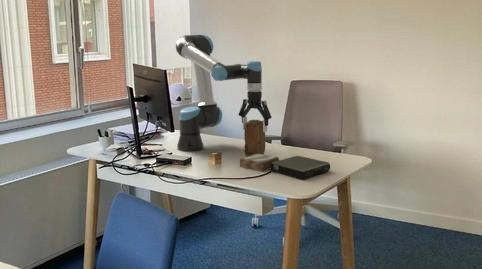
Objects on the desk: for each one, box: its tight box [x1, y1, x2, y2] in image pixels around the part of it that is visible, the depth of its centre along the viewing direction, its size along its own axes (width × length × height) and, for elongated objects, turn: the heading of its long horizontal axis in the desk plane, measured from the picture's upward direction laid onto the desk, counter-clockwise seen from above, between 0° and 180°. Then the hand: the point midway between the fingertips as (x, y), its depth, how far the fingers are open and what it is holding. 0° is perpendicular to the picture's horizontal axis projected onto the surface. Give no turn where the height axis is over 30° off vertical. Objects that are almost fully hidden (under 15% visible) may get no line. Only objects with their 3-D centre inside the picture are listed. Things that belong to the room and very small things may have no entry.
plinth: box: [239, 154, 279, 172], centre depth 268 cm, size 14×14×4 cm
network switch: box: [270, 155, 331, 181], centre depth 259 cm, size 23×23×5 cm
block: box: [243, 119, 266, 157], centre depth 285 cm, size 11×8×20 cm
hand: (254, 130), depth 283 cm, fingers open, 13 cm apart
